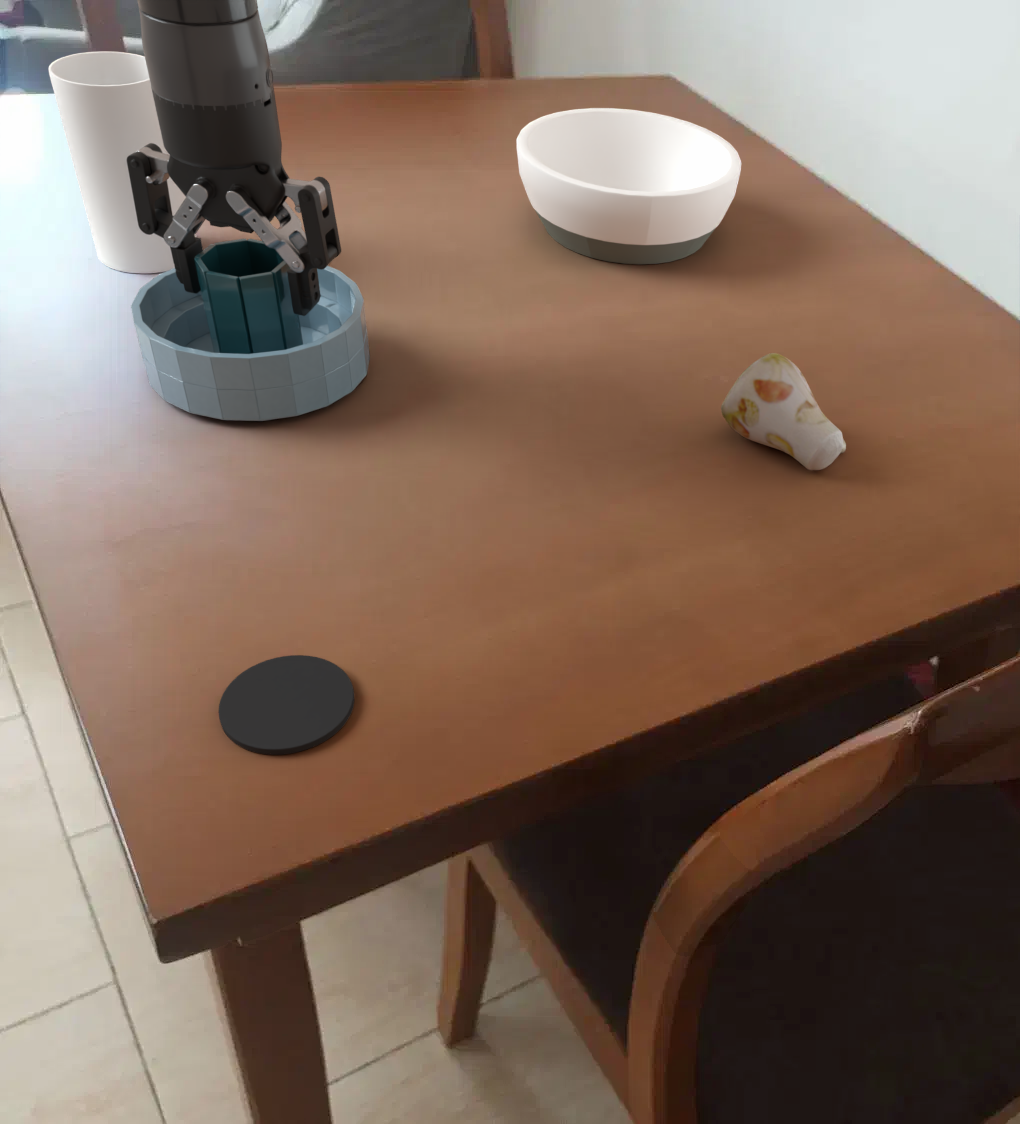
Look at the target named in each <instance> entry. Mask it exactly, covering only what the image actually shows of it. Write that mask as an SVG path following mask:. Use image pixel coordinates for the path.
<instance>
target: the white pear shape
mask: <svg viewBox="0 0 1020 1124" xmlns="http://www.w3.org/2000/svg"><path fill="white" fill-rule="evenodd" d="M720 413H721V415H722V417H723V418H724V420H725V422H726V423H727V425H729V427H730V428H731V429H732V430H734V432H735V433H737V434H739V435H740V436H742V437H744V438H745V439H747V440H750V441H752V442H755V443H758V444H761V445H764V446H766V447H770V448H773V449H776V450H779V451H781V452H784V453H785V454H787V455H789V456H790V457H792V458H793V459H795V460H796V461H797V462H799V464H801V465H802V466H803V467H804V468H805V469H806V470H808V471H820V470H824V469H826V468H827V467H829V466H830V465H832V463H833V462H834V461H835V460H836V459H837V458H838V457H839V456H840V454H844V453H845V452H846V449H847V443H846V441H845V440H844V438H843V432H842V430H841V429H839V428H838V427H837V426H836V425H835V424H834V423H833V422H832V421H831V420H830V419H829V418H828V417H827V416H826V415H825V414H824V413H823V411H822V410H821V408H820V406H819V405H818V401H817V400H816V397H815V396H814V394H813V392H812V389H811V388H810V385H809V384H808V382H807V380H806V377H805V376H804V374H803V373H802V371H801V370H800V369H799V367H798V366H797V365H796V364H795V363H794V362H793V361H792V360H790V359H789V358H787V357H786V356H784V355H782V354H780V353H777V352H771V353H767V354H765V355H763V356H762V357H760V358H758V359H756V361H755V360H754V362H752V363H751V364H750V365H749V366H748V367H747V368H746V369H745V370H744V371H743V372H742V373H741V374H740V375H739V376H738V377H737V378H736V381H735V382H734V383H733V385H732V386H731V388H730V389H729V390H728V393H727V395H726V396H725V398H724V400H723V402H722V404H721V406H720Z"/></svg>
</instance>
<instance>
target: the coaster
mask: <svg viewBox="0 0 1020 1124" xmlns="http://www.w3.org/2000/svg"><path fill="white" fill-rule="evenodd" d="M354 706H355V690H354V686H353V682H352V680H351V679H350V677H349V675H348V674H347V672H346V671H344V669H342V668H341V667H339V665H337V664H335V663H334V662H332V661H329V660H328V659H325V658H321V657H317V656H313V655H306V654H305V655H302V654H294V655H293V654H292V655H291V654H290V655H283V656H279V657H278V656H277V657H274V658H270V659H266V660H264V661H261V662H259V663H257V664H254V665H251V667H249V668H247V669H246V670H244V671H242V672H240V674H238V675H237V676H236V677H235V678H234V679H233V680H232V681H230V683H229V684H228V686H226V688H225V690H224V691H223V693H222V696H221V697H220V700H219V704H218V717H219V723H220V725H221V726H220V727H221V728H222V731H223V732H224V734H225V735H226V736H227V738H228V739H229V740H230V741H231V742H233V743H234V744H235V745H237V746H238V747H240V748H242V749H244V750H246V751H249V752H252V753H256V754H260V755H261V754H262V755H272V756H278V755H279V756H282V755H290V754H296V753H300V752H303V751H304V752H305V751H306V750H309V749H313V748H314V747H317V746H319V745H321V744H322V743H325V742H326V741H328V740H329V739H331V738H332V737H333V736H335V735H336V734H337V733H339V731H340V730H341V729H342V728H343V727H344V726H345V725H346V724H347V722H348V720H349V719H350V717H351V715H352V713H353V710H354Z"/></svg>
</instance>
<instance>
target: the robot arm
mask: <svg viewBox="0 0 1020 1124" xmlns="http://www.w3.org/2000/svg"><path fill="white" fill-rule="evenodd" d="M136 1H137V6H138V12H139V20H140V21H139V22H140V35H141V44H142V51H143V56H145V60H146V65H147V70H148V74H149V79H150V83H151V89H152V93H153V98H154V103H155V107H156V112H157V117H158V121H159V126H160V130H161V135H162V140H163V144H164V147H165V149H166V151H167V152H168V153H169V154H170V155H169V154H165V153H162V150H161V149H160V147H159V146H157V145H156V144H154V143H149V144H148V145H146V146H144V147H142V148H141V149H139V150H137V151H136V152H134V153H132V154H131V155H129V156H128V157H127V166H128V171H129V177H130V182H131V188H132V193H133V199H134V204H135V210H136V215H137V221H138V226H139V228H140V230H141V231H142V232H143V233H145V234H147V235H151V234H153V233H154V234H156V235H158V236H160V237H162V238H164V240H165V242H166V243H167V244H168V245H169V246H170V249H171V253H172V257H173V262H174V264H175V265H174V266H175V269H176V270H175V271H176V275H177V278H178V280H179V281H180V283H181V284H184V289H185V291H186V292H190V293H195V294H197V293H199V292H200V291H201V288H200V283H199V279H198V274H197V269H196V264H195V256H196V255H198V254H199V253H200V252H202V251H203V250H204V247H203V243H202V238H201V237H198V236H197V237H195V235H194V234H196V235H197V233H198V232H199V230H200V228H201V227H202V225H203V224H204V222H205V221H208V222H209V225H210V226H212V227H217V228H232V229H235V230H237V231H240V232H242V233H248V234H253V233H255V234H256V235H257V237H258V238H259V239H260V241H263V242H264V244H265V245H266V246H267V247H269V248H273V249H275V250H276V251H277V253H278V254H279V255H280V256H281V257H282V259H283V260H284V261H285V262H286V264H287V265H288V266H289V267H290V269H289V270H288V271H287V274H288V281H289V287H290V294H291V300H292V307H293V312H294V314H297V315H302V316H305V315H307V314H308V313H309V312H310V311H311V310H312V309H313V308H314V306H315V305H316V304H317V303H318V302H319V300H320V297H321V294H320V287H319V279H318V272H317V269H321V270H322V269H325V268H326V267H327V266H329V265H330V263H332V262H333V261H334V260H335V259H336V258H338V257H339V256H340V255H341V254H342V246H341V240H340V235H339V230H338V223H337V219H336V218H337V217H336V212H335V207H334V202H333V201H334V199H333V196H332V190H331V185H330V182H329V181H328V180H327V179H326V178H325V177H323V176H316V177H315V178H314V179H312V180H302V179H295V178H290V176H289V175H288V173H287V172H286V170H285V167H284V165H283V163H282V153H283V151H282V150H283V142H282V135H281V128H280V121H279V115H278V108H277V107H278V106H277V101H276V94H275V86H274V74H273V70H272V66H271V60H270V53H269V47H268V42H267V38H266V36H265V32H264V28H263V26H262V25H263V24H262V22H261V17H260V12H259V6H258V0H136ZM169 177H170V178H171V179H172V180H173V182H174V183H175V184H176V185H177V187H178V188H179V189H180V190H181V191H182V193H183V194H184V195H185V196H186V198H185V199H184V201H183V202H182V204H181V206H180V207H179V209H178V210H177V212H176V213H175V215H174V216H173V215H172V209H171V203H170V196H169V190H168V184H167V179H169ZM288 198H289V199H290V200H291V201H292V202H293V204H294V209H292V207H291V206H290V205H289V204H288V202H287V199H288ZM294 210H295V211H294ZM296 213H298V214H301V219H302V221H301V219H300V218H299V217H298V215H297V214H296ZM274 218H276V220H277V221H278V223H279V227H278V228H276V227H275V226H274V225H273V224H272V223H271V222H272V221H273V220H274ZM302 227H303V228H302Z"/></svg>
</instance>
